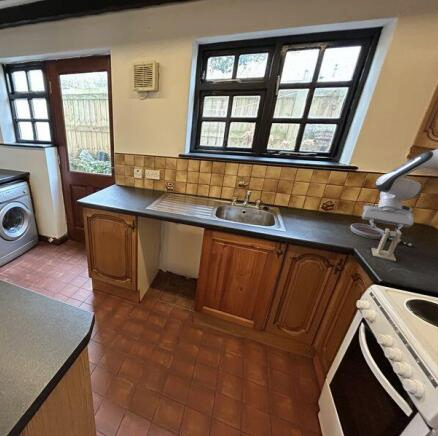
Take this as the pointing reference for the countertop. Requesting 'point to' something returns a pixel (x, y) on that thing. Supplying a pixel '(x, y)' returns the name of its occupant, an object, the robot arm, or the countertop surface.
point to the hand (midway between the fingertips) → (384, 229)
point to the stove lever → (390, 235)
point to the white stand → (389, 253)
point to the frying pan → (370, 232)
